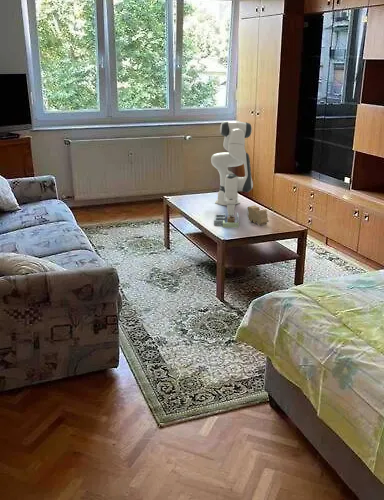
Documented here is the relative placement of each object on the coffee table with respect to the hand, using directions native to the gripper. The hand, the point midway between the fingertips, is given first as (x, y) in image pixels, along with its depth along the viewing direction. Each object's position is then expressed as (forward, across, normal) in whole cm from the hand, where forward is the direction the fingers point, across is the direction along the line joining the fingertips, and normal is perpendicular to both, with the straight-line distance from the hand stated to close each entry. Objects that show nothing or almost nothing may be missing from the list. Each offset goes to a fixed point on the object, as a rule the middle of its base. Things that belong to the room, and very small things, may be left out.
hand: (230, 218), depth 352 cm
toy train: (+3, 0, +18) cm, 18 cm away
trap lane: (+3, -2, -3) cm, 4 cm away
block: (+3, +4, 0) cm, 5 cm away
